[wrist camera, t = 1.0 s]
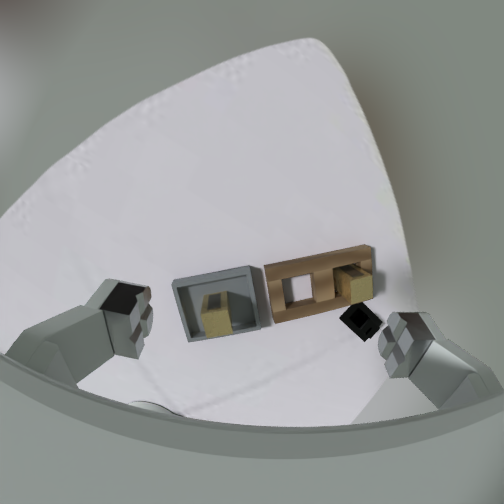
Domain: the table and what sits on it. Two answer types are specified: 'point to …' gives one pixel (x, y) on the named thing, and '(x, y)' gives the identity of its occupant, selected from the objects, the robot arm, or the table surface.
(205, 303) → the block
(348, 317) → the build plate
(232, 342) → the table surface
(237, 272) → the shallow grey tray
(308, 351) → the table surface
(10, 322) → the table surface
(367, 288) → the block
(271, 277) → the pallet
